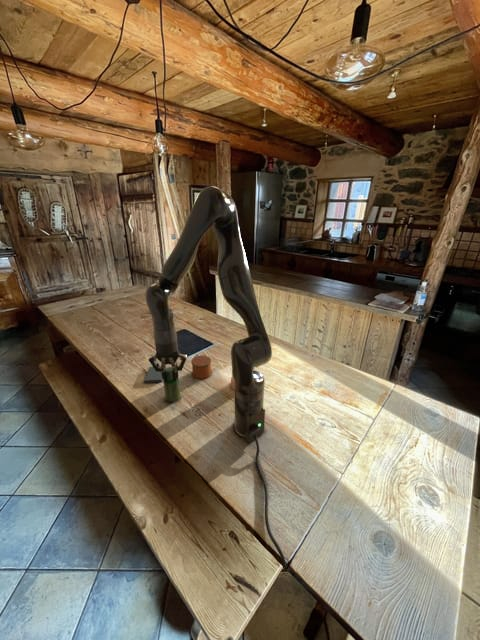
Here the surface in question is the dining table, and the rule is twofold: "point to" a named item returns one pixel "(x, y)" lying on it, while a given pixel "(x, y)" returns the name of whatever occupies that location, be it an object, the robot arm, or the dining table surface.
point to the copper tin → (201, 367)
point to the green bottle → (171, 386)
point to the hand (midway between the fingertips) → (170, 379)
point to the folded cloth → (153, 376)
